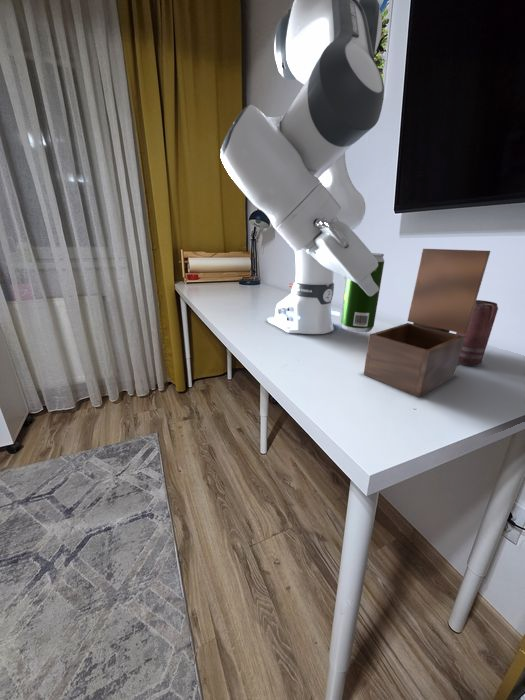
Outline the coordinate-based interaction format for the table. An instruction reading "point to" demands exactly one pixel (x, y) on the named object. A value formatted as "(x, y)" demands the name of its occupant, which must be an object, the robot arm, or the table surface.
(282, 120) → the robot arm
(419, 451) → the table surface
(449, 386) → the table surface
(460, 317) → the lid
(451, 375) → the chest
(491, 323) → the can
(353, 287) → the beer can
